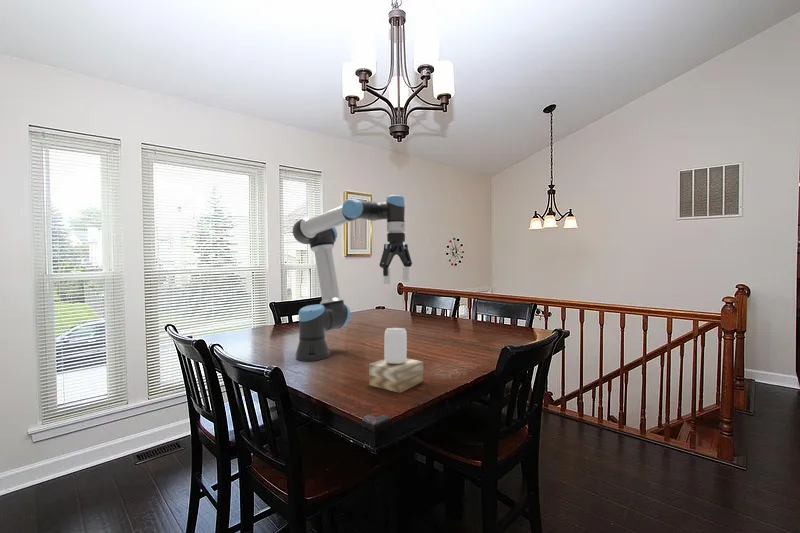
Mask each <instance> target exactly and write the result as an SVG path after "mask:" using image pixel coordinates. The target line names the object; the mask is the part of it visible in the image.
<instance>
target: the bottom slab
mask: <svg viewBox="0 0 800 533" xmlns="http://www.w3.org/2000/svg"><path fill="white" fill-rule="evenodd" d="M423 381H424V372H423V373H421V374H419V375H416V376H414V377H411V378H409V379H407V380H404V381H402V382H400V383H399V382H395V381H391V380H387V379H383V378H379V377H375V376H371V375H368V382H369V383H368V385H369V386H371V387H375V388H379V389H383V390H387V391H391V392H395V393H399V394H402V393H403V392H405V391H407V390H409V389H412V388H413V387H415V386H417V385H420V384H421V383H423Z"/></svg>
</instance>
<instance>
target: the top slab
mask: <svg viewBox="0 0 800 533" xmlns="http://www.w3.org/2000/svg"><path fill="white" fill-rule="evenodd" d="M421 373H423V374H424V361H421V360H417V359H412V358H408V357H407V361H405V362H404V363H400V364H392V363H387V362H386V361H384V359H380V360H376V361H373V362H371V363H369V364H368V374H369V375H371V376H375V377H379V378H383V379H387V380H391V381H395V382H399V383H400V382H402V381H404V380H407V379H409V378H411V377H414V376H416V375H419V374H421ZM369 375H368V376H369Z"/></svg>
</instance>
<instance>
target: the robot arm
mask: <svg viewBox="0 0 800 533" xmlns="http://www.w3.org/2000/svg"><path fill="white" fill-rule="evenodd" d="M405 205H406V204H405V197H404V196H403V195H398V194H391V195H390V194H389V195H388V196H386V200H385V201H378V202H376V201H369V200H361V199H357V198H347V199H345V201H344V202H343V203H342V205H340V206H337V207H334V208H332V209H330V210H327V211H325V212H323V213H320V214H318V215H315V216H311V217H304V218H302V219H299V220H297V221H295V223H294V224H293V226H292V235H293V236H292V237H293V238H294V239H295V241H297V242H298V243H299V244H303V245H309V247H310V251H312V252H313V253H314V258H315V263H316V271H317V276H318V282H319V288H320V289H319V290H320V295H321V301H320V303H319V304H310V305H306V306H303V307H301V308H300V309H299V311H298V338H299V339H298V344H297V350H296V351H295V359H296V360H298V361H303V362H304V361H305V362H306V361H307V362H309V361H310V362H314V361H319V360H325V359H327V358H329V357H330V350H329V346H328V344H327V340H326V332H327V331H332V330H340V329H341V328H344V327H346V326H347V325H348V324H349V322H350V320H351V314H352V313H351V309H350V307H349V306H348V305H347V304H346V303H344V302H345V300H344V299H343V298H342V297H341V296H340V290H339V286H338V284H339V283H338V280H337V273H336V266H335V262H334V255H333V249H334V247H335V243H336V242H337V238H338V232H337V228H336V227H339V226H342V225H344V224H347V223H349V222H353V221H356V220H357V219H358V220H359V219H361V220H363V219H364V220H368V221H374V222H375V221H376V222H377V221H380V220H386V232H387V234H386V237H387V238H386V242H387V243H384V244H383V250H382V251H383V252H382V254H381V259H380V262H379V263H378V264H379V267H380V268H381V269H382V270H383V271H382V276H383V284H384V285H390V284H391V268H390V265H391V263H392V260H393V259H394V257H395V256H397V257H399V259H400V261H401V263H402V265H403V266H402V282H403V283H404V282H406V283H409V282H410V277H409V276H410V275H409V274H410V267H412V265H413V262H412V259H411V254H410V251H409V246H408V244H407V243H404V242H405V241H406V234H405V233H404V232H405V231H406V230H405V228H406V227H405V226H406V225H405V222H406V221H405V210H406V209H405V208H406V206H405Z"/></svg>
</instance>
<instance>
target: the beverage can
mask: <svg viewBox="0 0 800 533" xmlns="http://www.w3.org/2000/svg"><path fill="white" fill-rule="evenodd" d="M407 333H408V331H407V330H406V328H403V327H387V328H385V331H384V340H383V341H384V350H383V351H384V352H383V353H384V354H383V357H384V361H386V362H387V363H392V364H400V363H404V362H405V361H407V358H408V357H407V354H408V350H407V349H408V348H407V344H408V342H407V341H408V337H407V336H408V334H407Z"/></svg>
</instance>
